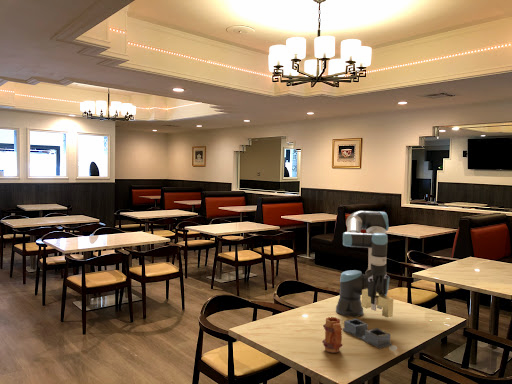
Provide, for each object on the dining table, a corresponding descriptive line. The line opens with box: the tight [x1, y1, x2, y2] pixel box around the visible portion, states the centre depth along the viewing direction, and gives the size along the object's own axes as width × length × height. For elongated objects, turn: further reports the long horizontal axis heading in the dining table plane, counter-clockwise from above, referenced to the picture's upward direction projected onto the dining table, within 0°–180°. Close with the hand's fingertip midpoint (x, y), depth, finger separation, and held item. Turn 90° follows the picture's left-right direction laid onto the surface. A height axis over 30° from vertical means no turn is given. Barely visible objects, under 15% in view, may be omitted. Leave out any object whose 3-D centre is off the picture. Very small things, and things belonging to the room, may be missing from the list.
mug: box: [321, 316, 343, 353], centre depth 182 cm, size 15×8×15 cm, turn 5°
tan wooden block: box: [361, 289, 394, 319], centre depth 210 cm, size 18×4×9 cm, turn 31°
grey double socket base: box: [342, 318, 392, 350], centre depth 200 cm, size 24×8×5 cm, turn 31°
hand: (376, 309), depth 210 cm, fingers closed on tan wooden block, 3 cm apart
